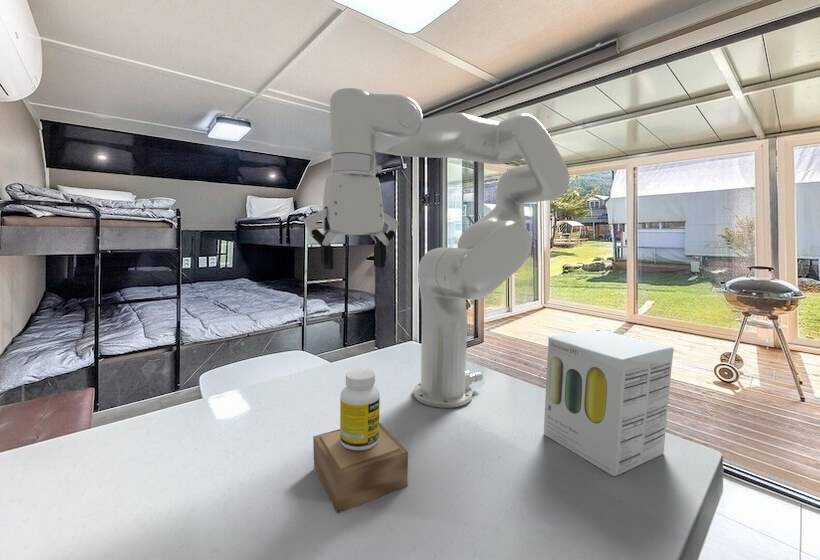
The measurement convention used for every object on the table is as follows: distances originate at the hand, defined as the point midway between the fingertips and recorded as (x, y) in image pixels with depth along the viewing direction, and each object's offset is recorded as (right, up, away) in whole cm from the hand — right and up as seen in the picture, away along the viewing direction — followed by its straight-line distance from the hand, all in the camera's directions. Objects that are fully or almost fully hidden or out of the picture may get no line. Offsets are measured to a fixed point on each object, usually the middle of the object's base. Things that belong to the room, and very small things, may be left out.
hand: (354, 267), depth 65 cm
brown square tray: (+3, -30, -13) cm, 33 cm away
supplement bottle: (+3, -25, -14) cm, 29 cm away
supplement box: (+41, -30, -4) cm, 51 cm away
